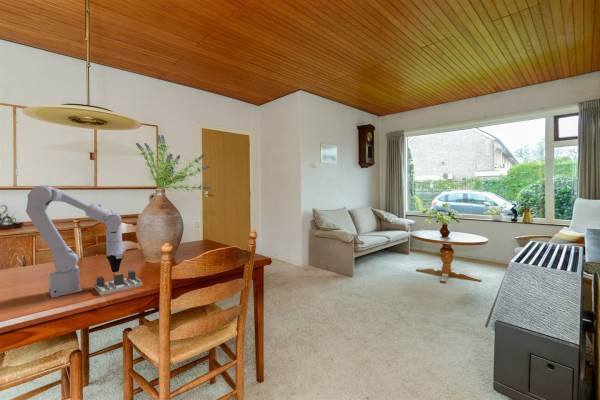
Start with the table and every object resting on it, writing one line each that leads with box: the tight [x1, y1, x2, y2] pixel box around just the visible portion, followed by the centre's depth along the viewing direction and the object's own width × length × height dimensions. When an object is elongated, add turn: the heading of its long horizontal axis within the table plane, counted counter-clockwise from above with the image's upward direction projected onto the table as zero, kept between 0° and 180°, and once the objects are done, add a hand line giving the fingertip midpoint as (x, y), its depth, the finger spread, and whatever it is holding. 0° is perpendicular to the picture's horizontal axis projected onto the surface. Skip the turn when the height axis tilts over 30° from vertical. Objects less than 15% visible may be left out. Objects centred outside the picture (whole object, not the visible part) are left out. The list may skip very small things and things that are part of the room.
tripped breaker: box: [112, 272, 125, 285], centre depth 118 cm, size 3×3×4 cm
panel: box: [93, 269, 143, 297], centre depth 118 cm, size 15×12×5 cm
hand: (115, 271), depth 121 cm, fingers closed
